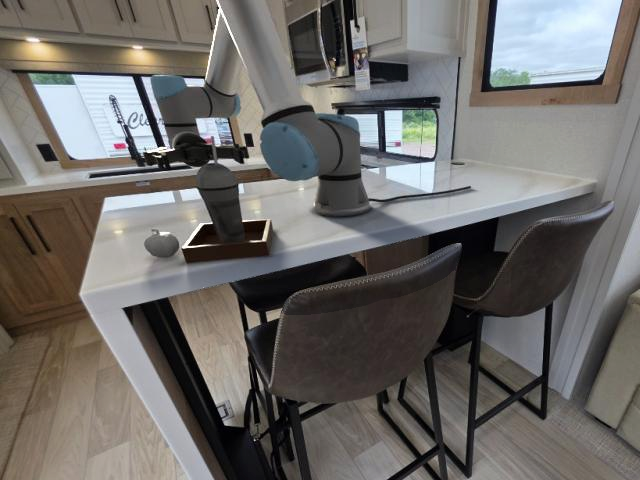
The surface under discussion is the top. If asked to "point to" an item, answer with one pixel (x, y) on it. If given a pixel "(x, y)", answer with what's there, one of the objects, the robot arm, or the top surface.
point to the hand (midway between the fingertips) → (206, 159)
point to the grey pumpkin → (161, 244)
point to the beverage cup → (221, 199)
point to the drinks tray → (209, 247)
